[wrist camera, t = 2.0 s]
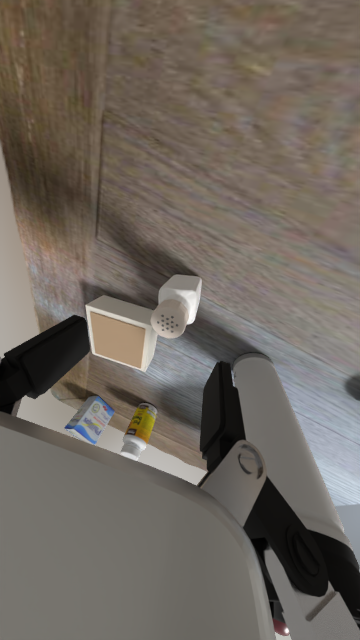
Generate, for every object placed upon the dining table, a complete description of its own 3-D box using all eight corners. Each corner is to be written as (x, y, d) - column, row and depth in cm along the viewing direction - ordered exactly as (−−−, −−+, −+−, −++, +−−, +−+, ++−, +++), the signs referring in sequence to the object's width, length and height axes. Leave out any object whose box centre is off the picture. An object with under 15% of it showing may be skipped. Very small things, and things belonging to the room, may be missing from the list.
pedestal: (103, 294, 24) (83, 305, 21) (161, 312, 24) (151, 327, 20) (106, 340, 30) (91, 354, 26) (153, 355, 29) (144, 373, 25)
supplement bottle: (148, 399, 37) (127, 449, 29) (162, 412, 39) (146, 462, 30) (134, 403, 40) (111, 450, 31) (148, 415, 42) (130, 462, 33)
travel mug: (223, 366, 26) (234, 601, 10) (253, 345, 23) (354, 657, 6) (249, 384, 27) (301, 630, 10) (282, 367, 24) (440, 693, 7)
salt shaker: (202, 275, 19) (192, 305, 11) (199, 303, 21) (188, 345, 13) (173, 272, 20) (143, 299, 12) (172, 300, 22) (147, 338, 14)
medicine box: (115, 411, 45) (95, 445, 37) (105, 411, 47) (84, 445, 39) (98, 394, 42) (73, 428, 35) (88, 396, 44) (62, 429, 36)
